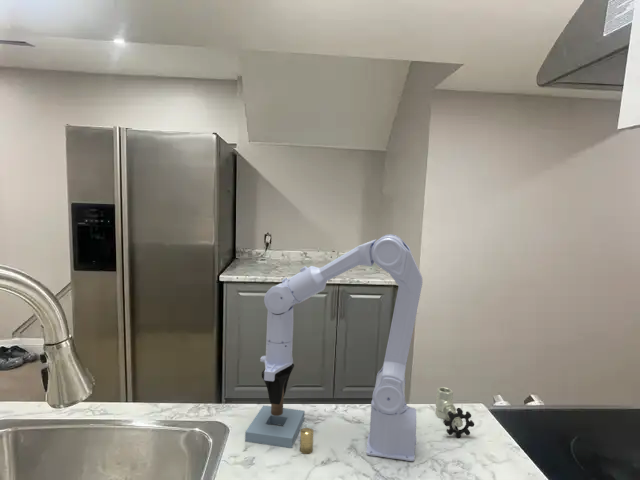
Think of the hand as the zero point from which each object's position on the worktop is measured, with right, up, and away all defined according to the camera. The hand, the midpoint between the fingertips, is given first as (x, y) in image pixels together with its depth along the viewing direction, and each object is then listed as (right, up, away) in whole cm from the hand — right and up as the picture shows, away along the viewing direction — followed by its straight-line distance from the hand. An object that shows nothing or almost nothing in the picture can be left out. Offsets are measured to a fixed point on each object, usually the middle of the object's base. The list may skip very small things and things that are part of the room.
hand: (277, 400), depth 90 cm
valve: (+40, -8, +6) cm, 41 cm away
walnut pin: (0, -3, 0) cm, 3 cm away
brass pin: (+7, -8, -7) cm, 12 cm away
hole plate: (0, -7, 0) cm, 7 cm away
